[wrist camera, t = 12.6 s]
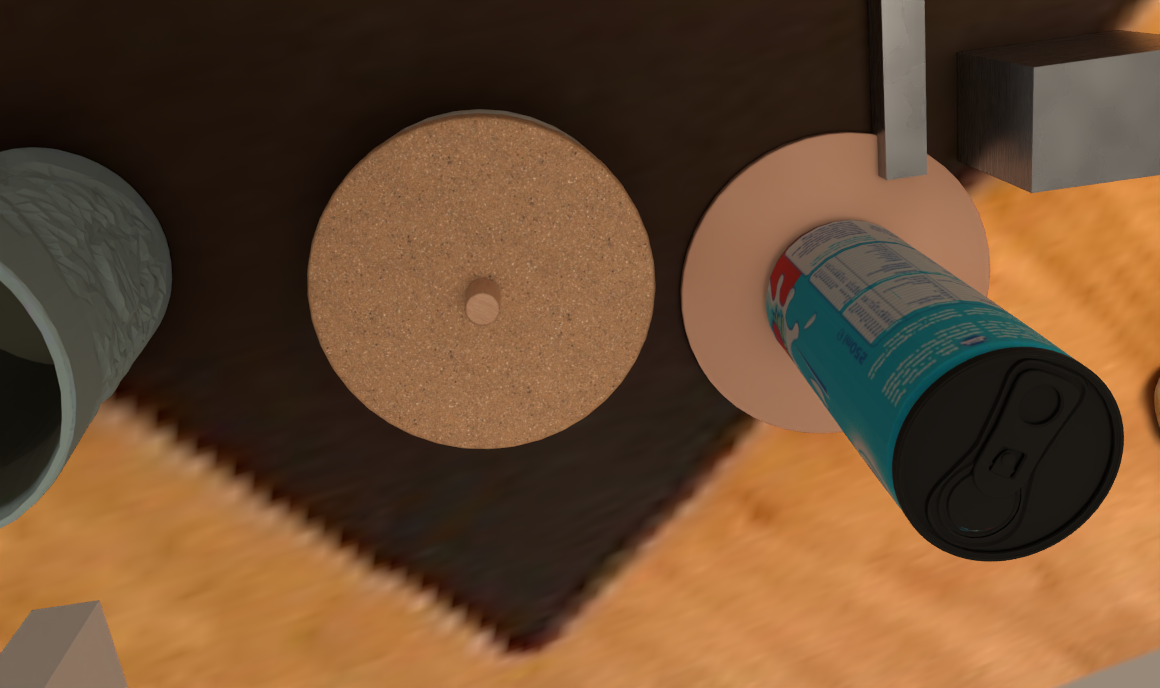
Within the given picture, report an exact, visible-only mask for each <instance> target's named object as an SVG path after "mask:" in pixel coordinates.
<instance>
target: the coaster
mask: <svg viewBox="0 0 1160 688" xmlns="http://www.w3.org/2000/svg"><path fill="white" fill-rule="evenodd" d="M844 220H857V221H867V222H870V223H873V224H876V225H879V226H882V227H884V228H886V229H888V230H889V231H891V232H892V233H894V234H895V235H897V236H898V237H899V238H900V239H902V240H903V241H905V242H906V243H908V244H909V245H911V246H912V247H913V248H915V249H916V250H918V251H919V252H921V253H922V254H924V255H925V256H927V257H928V258H930V259H931V260H933V261H934V262H935V263H937V264H938V265H940V266H941V267H943V268H944V269H946V270H947V271H949V272H950V273H952V274H953V275H954V276H956V277H957V278H959V279H960V280H962V281H963V282H965V283H966V284H968V285H969V286H971V287H972V288H974V289H975V290H976V291H978V292H979V293H981V294H982V295H984V296H985V297H987V294H988V289H989V278H990V259H989V248H988V243H987V238H986V233H985V229H984V226H983V224H982V221H981V218H980V215H979V213H978V211H977V209H976V207H975V205H974V203H973V201H972V199H971V198H970V196H969V194H968V193H967V192H966V190H965V189H964V188H963V186H962V185H961V184H960V182H959V181H958V180H957V179H956V178H955V177H954V176H953V175H952V174H951V173H950V172H949V171H948V170H947V169H946V168H945V167H944V166H943V165H941V164H940V163H939V162H937V161H936V160H935V159H933V158H932V157H931V156H929V155H928V154H927V175H921V176H914V177H907V178H899V179H892V180H885V179H883V178H882V177H880V176H878V146H877V136H876V135H874V134H872V133H867V132H851V131H842V132H828V133H822V134H817V135H812V136H807V137H803V138H800V139H797V140H794V141H792V142H789V143H786V144H783V145H781V146H779V147H777V148H775V149H773V150H771V151H769V152H767V153H765V154H764V155H762V156H760V157H759V158H757V159H756V160H754V161H753V162H751V163H750V164H748V165H747V166H746V167H745V168H743V169H742V170H741V171H740V172H739V173H737V174H736V175H735V176H734V177H733V178H732V179H730V181H729V182H728V183H727V184H726V185H725V186H724V187H723V188H722V189H721V190H720V191H719V193H718V194H717V195H716V196H715V198H714V199H713V200H712V202H711V203H710V205H709V206H708V207H707V209H706V210H705V212H704V213H703V215H702V217H701V219H700V221H699V223H698V224H697V226H696V228H695V230H694V232H693V235H692V238H691V240H690V243H689V245H688V248H687V251H686V255H685V260H684V264H683V268H682V276H681V286H680V300H681V312H682V318H683V324H684V328H685V332H686V335H687V338H688V341H689V344H690V346H691V348H692V350H693V353H694V355H695V357H696V359H697V361H698V363H699V365H700V367H701V368H702V370H703V371H704V373H705V374H706V376H707V377H708V379H709V380H710V382H711V383H712V384H713V385H714V386H715V387H716V388H717V389H718V391H719V392H720V393H721V394H722V395H723V396H724V397H725V398H727V399H728V400H729V401H730V402H731V403H733V404H734V405H735V406H736V407H738V408H739V409H741V410H742V411H744V412H746V413H747V414H749V415H750V416H752V417H754V418H756V419H759V420H761V421H763V422H765V423H768V424H770V425H773V426H777V427H780V428H784V429H787V430H793V431H799V432H805V433H833V432H843V431H842V429H841V428H840V426H839V425H838V424H837V422H836V421H835V419H834V418H833V417H832V415H831V414H830V413H829V411H828V410H827V408H826V407H825V406H824V404H823V403H822V401H821V400H820V399H819V397H818V396H817V394H816V393H815V392H814V390H813V389H812V387H811V386H810V385H809V383H808V382H807V381H806V379H805V378H804V376H803V375H802V374H801V372H800V371H799V369H798V368H797V367H796V365H795V364H794V362H793V361H792V360H791V358H790V357H789V355H788V354H787V353H786V351H785V350H784V349H783V347H782V346H781V345H780V344H779V342H778V341H777V340H776V338H775V336H774V333H773V331H772V329H771V327H770V325H769V320H768V316H767V311H766V294H767V289H768V284H769V280H770V276H771V274H772V272H773V269H774V267H775V265H776V263H777V261H778V259H779V258H780V257H781V255H782V254H783V253H784V251H785V250H786V249H787V247H788V246H790V245H791V244H792V243H793V242H794V241H795V240H796V239H797V238H799V237H800V236H801V235H803V234H805V233H806V232H808V231H810V230H812V229H813V228H815V227H818V226H821V225H824V224H827V223H830V222H836V221H844Z"/></svg>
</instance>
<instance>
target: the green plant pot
mask: <svg viewBox="0 0 1160 688" xmlns="http://www.w3.org/2000/svg"><path fill="white" fill-rule="evenodd" d="M169 252H170V251H169V248H168V245H167V239H166V237H165V234H164V232H163V230H162V227H161V225H160V223H159V221H158V220H157V218H156V216H155V215H154V213H153V211H152V210H151V208H150V207H149V206H148V205H147V203H146V202H145V201H144V200H143V198H142V197H141V196H140V195H139V194H138V193H137V192H136V191H135V190H134V188H133V187H132V186H130V185H129V184H128V183H127V182H126V181H125V180H123V179H122V178H121V177H120V176H118V175H117V174H115V173H114V172H112V171H111V170H109V169H107V168H106V167H104V166H102V165H100V164H99V163H96V162H94V161H92V160H89V159H87V158H85V157H82V156H80V155H76V154H72V153H69V152H65V151H61V150H57V149H50V148H36V147H29V148H17V149H10V150H6V151H2V152H0V528H2V527H4V526H5V525H7V524H9V523H11V522H13V521H15V520H16V519H18V518H19V517H20V516H21V515H22V514H23V513H25V512H26V511H27V510H28V509H29V508H30V507H32V506H33V505H34V504H35V503H36V502H37V501H38V500H39V499H40V498H41V497H42V496H43V495H44V493H45V492H46V491H47V490H48V489H49V488H50V487H51V485H52V484H53V483H54V481H55V480H56V478H57V477H58V475H59V474H60V472H61V471H62V469H63V467H64V466H65V464H66V463H67V461H68V459H69V458H70V456H71V454H72V453H73V451H74V449H75V448H76V446H77V444H78V443H79V441H80V439H81V438H82V436H83V434H84V433H85V431H86V429H87V428H88V425H89V424H90V423H91V422H92V420H93V418H94V416H95V415H96V414H97V412H98V409H99V406H100V404H101V403H103V402H104V401H105V400H106V399H108V398H109V397H110V396H111V395H112V394H113V393H114V391H115V390H116V388H117V387H118V385H119V383H120V381H121V380H122V378H123V377H124V376H125V375H126V374H127V372H128V371H129V369H130V367H131V365H132V364H133V362H134V361H135V360H136V358H137V357H138V356H139V354H140V353H141V351H142V350H143V349H144V347H145V346H146V344H147V343H148V341H149V340H150V339H151V337H152V336H153V334H154V333H155V331H156V330H157V328H158V326H159V325H160V323H161V321H162V319H163V317H164V314H165V312H166V309H167V306H168V302H169V298H170V295H171V285H172V269H171V260H170V254H169Z"/></svg>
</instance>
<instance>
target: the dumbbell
mask: <svg viewBox="0 0 1160 688" xmlns="http://www.w3.org/2000/svg"><path fill="white" fill-rule="evenodd" d="M867 1H868V31H869V61H870V92H871V122H872V134H874V135H876V136H877V146H878V176H880V177H882V178H883V179H885V180H892V179H899V178H907V177H914V176H921V175H927V136H926V72H925V9H924V0H867ZM957 102H958V161H959V162H962V163H964V164H966V165H969V166H971V167H973V168H976V169H978V170H980V171H982V172H985V173H987V174H989V175H992V176H994V177H996V178H998V179H1001V180H1003V181H1005V182H1008V183H1010V184H1012V185H1015V186H1017V187H1019V188H1021V189H1024V190H1026V191H1028V192H1031V193H1035V192H1042V191H1049V190H1056V189H1063V188H1070V187H1077V186H1084V185H1091V184H1098V183H1106V182H1113V181H1120V180H1127V179H1134V178H1141V177H1148V176H1155V175H1160V35H1158V34H1149V33H1140V32H1131V31H1122V30H1115V31H1108V32H1100V33H1093V34H1086V35H1079V36H1072V37H1064V38H1057V39H1050V40H1043V41H1035V42H1028V43H1021V44H1014V45H1006V46H999V47H992V48H985V49H978V50H970V51H963V52H957Z"/></svg>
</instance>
